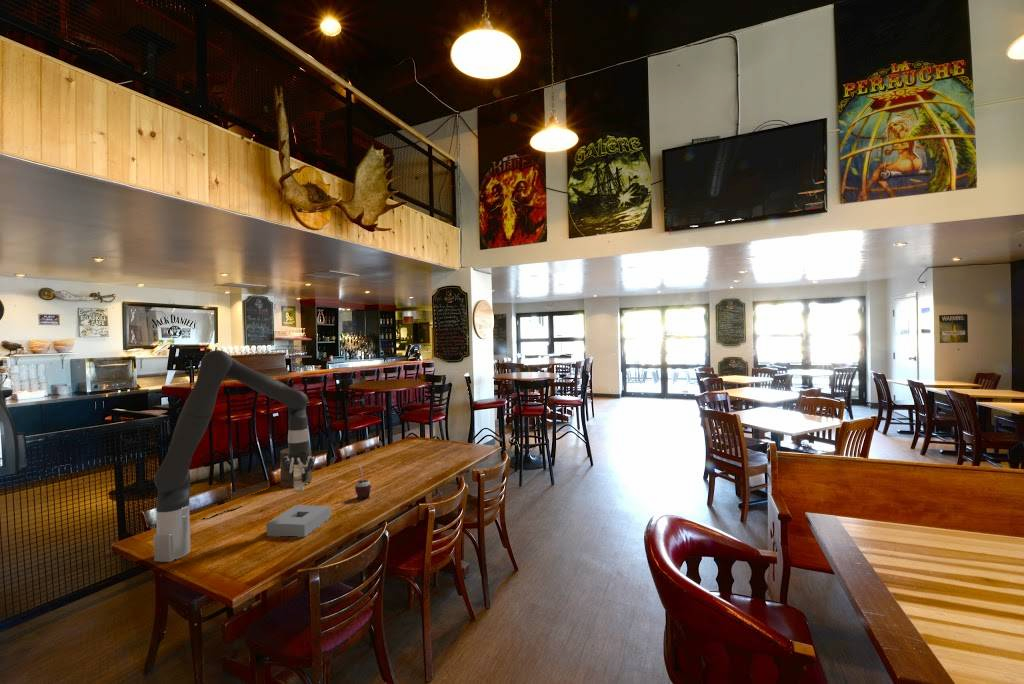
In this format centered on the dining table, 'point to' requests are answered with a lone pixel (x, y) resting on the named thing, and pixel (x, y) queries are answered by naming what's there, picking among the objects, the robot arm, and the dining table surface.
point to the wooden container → (286, 475)
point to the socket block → (298, 521)
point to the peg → (298, 478)
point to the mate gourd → (363, 488)
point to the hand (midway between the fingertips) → (299, 481)
